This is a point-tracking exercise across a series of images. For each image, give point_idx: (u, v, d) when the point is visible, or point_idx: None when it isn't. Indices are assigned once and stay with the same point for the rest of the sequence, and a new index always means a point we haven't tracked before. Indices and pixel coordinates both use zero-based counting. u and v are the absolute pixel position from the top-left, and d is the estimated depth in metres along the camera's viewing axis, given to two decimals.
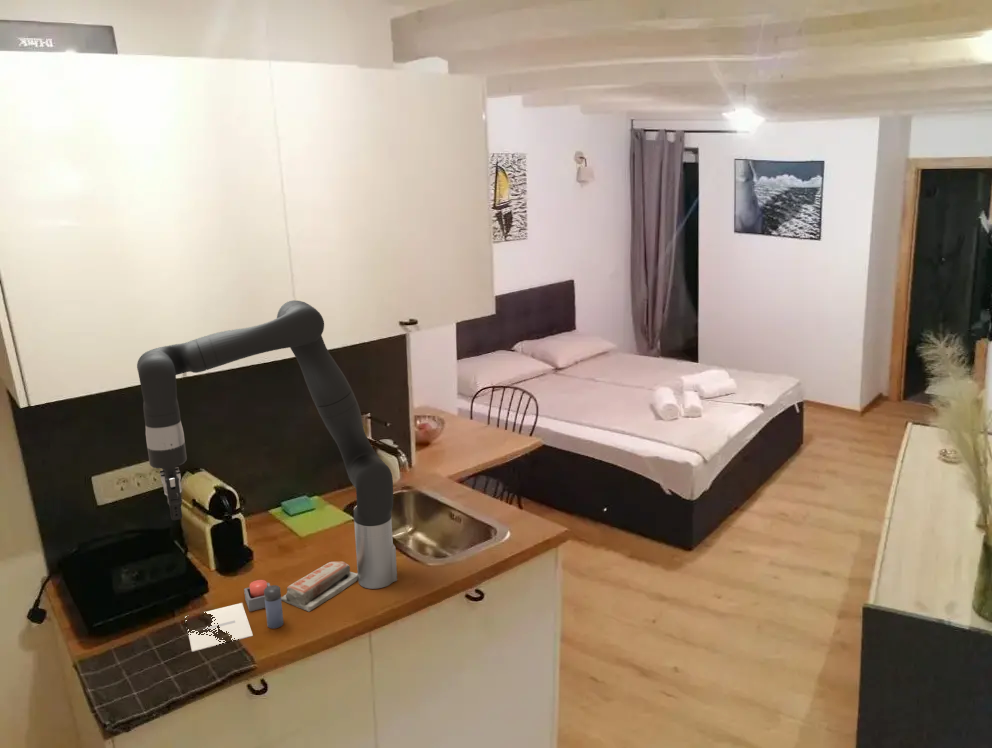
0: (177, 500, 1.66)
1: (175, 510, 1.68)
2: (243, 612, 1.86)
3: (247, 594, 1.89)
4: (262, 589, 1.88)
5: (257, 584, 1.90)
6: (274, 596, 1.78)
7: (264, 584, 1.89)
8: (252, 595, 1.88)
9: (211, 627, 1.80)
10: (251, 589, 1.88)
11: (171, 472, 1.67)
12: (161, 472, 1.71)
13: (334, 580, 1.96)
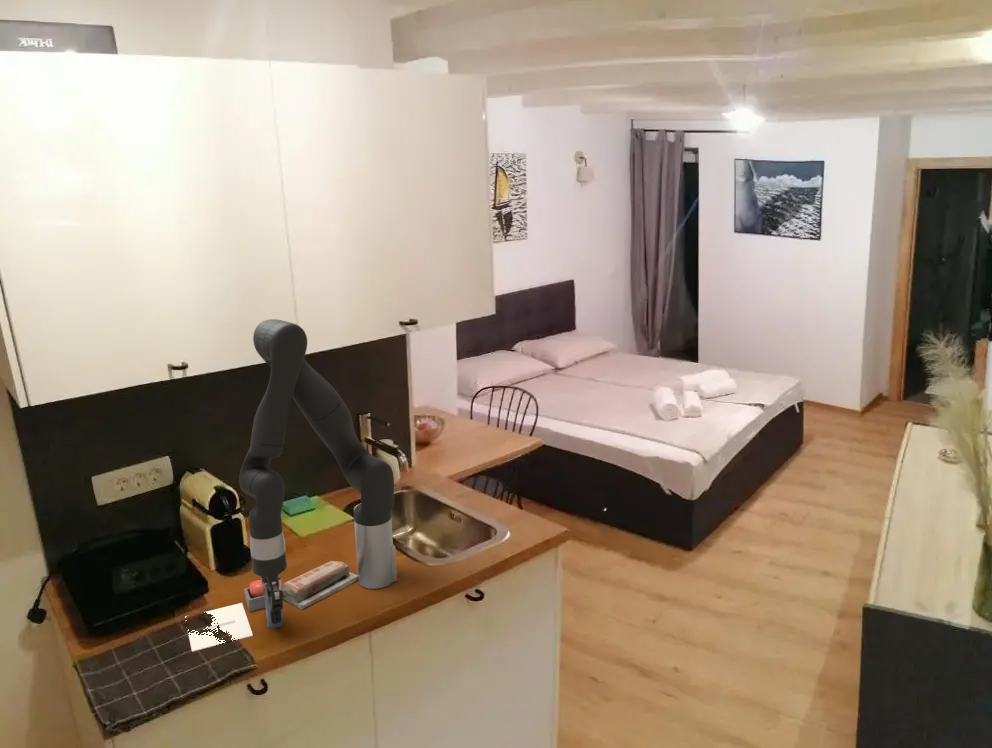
0: (279, 606, 1.76)
1: (276, 615, 1.78)
2: (243, 612, 1.86)
3: (247, 594, 1.89)
4: (262, 589, 1.88)
5: (257, 584, 1.90)
6: None
7: None
8: (252, 595, 1.88)
9: (211, 627, 1.80)
10: (251, 589, 1.88)
11: (274, 580, 1.75)
12: (262, 577, 1.79)
13: (332, 580, 1.96)
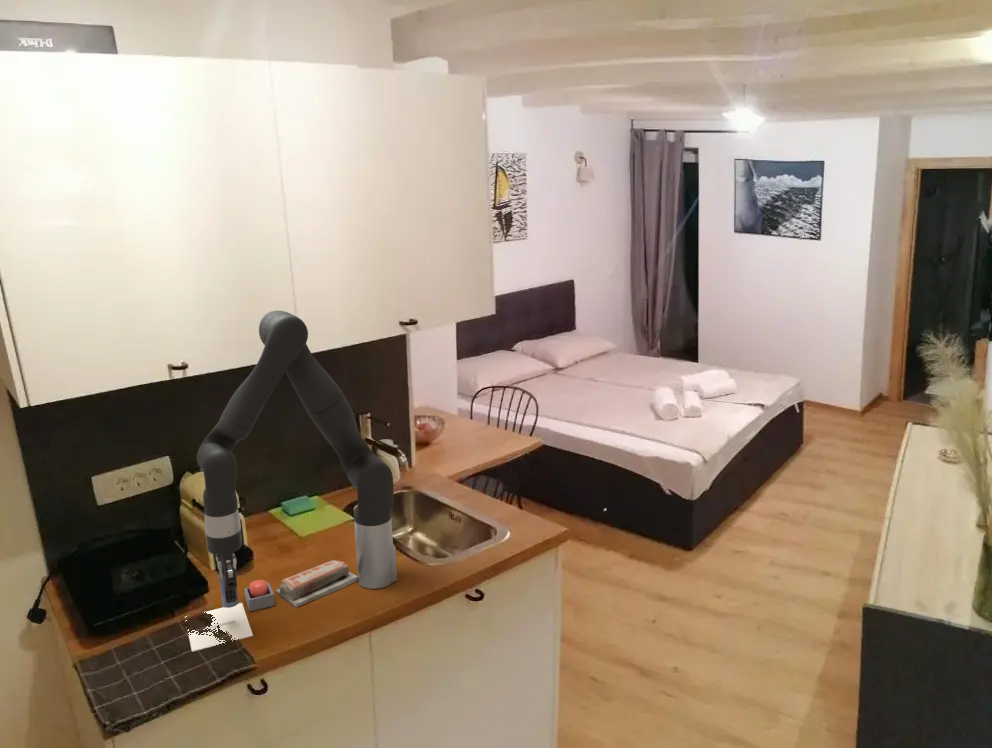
0: (233, 585, 1.75)
1: (230, 594, 1.77)
2: (243, 612, 1.86)
3: (247, 594, 1.89)
4: (262, 589, 1.88)
5: (257, 584, 1.90)
6: None
7: (264, 584, 1.89)
8: (252, 595, 1.88)
9: (211, 627, 1.80)
10: (251, 589, 1.88)
11: (228, 558, 1.75)
12: (217, 555, 1.78)
13: (330, 580, 1.97)
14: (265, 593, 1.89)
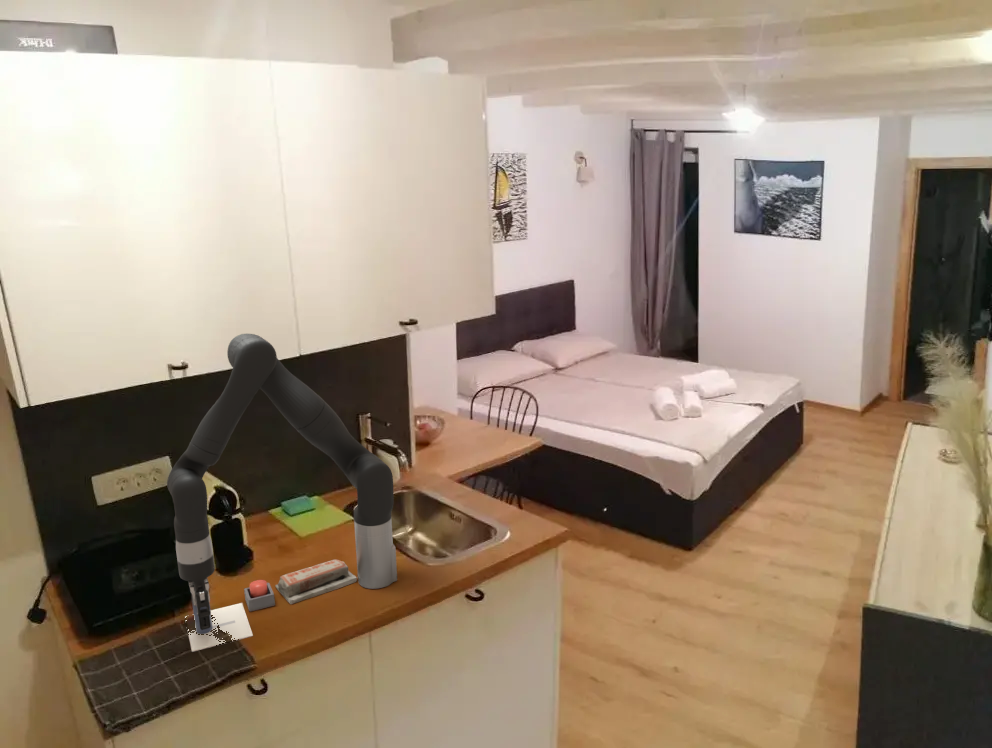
0: (206, 612, 1.72)
1: (204, 620, 1.74)
2: (243, 612, 1.86)
3: (247, 594, 1.89)
4: (262, 589, 1.88)
5: (257, 584, 1.90)
6: None
7: (264, 584, 1.89)
8: (252, 595, 1.88)
9: None
10: (251, 589, 1.88)
11: (200, 584, 1.73)
12: (190, 582, 1.77)
13: (328, 579, 1.97)
14: (265, 593, 1.89)
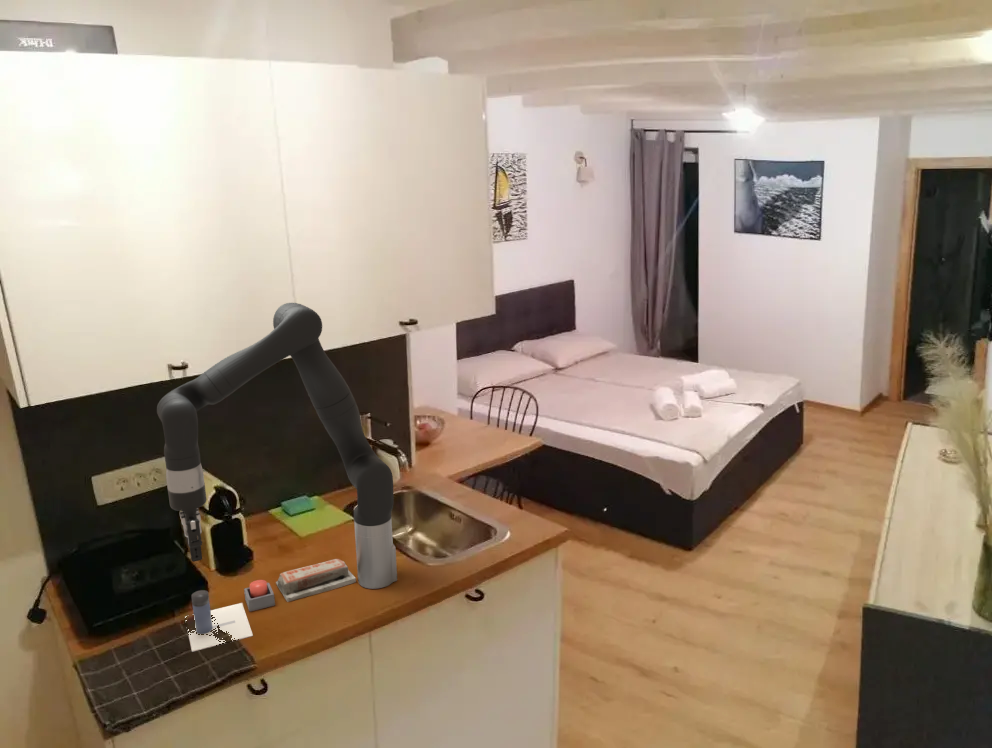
0: (197, 542, 1.67)
1: (195, 552, 1.69)
2: (243, 612, 1.86)
3: (247, 594, 1.89)
4: (262, 589, 1.88)
5: (257, 584, 1.90)
6: (201, 601, 1.76)
7: (264, 584, 1.89)
8: (252, 595, 1.88)
9: None
10: (251, 589, 1.88)
11: (191, 514, 1.69)
12: (181, 513, 1.72)
13: (327, 578, 1.97)
14: (265, 593, 1.89)
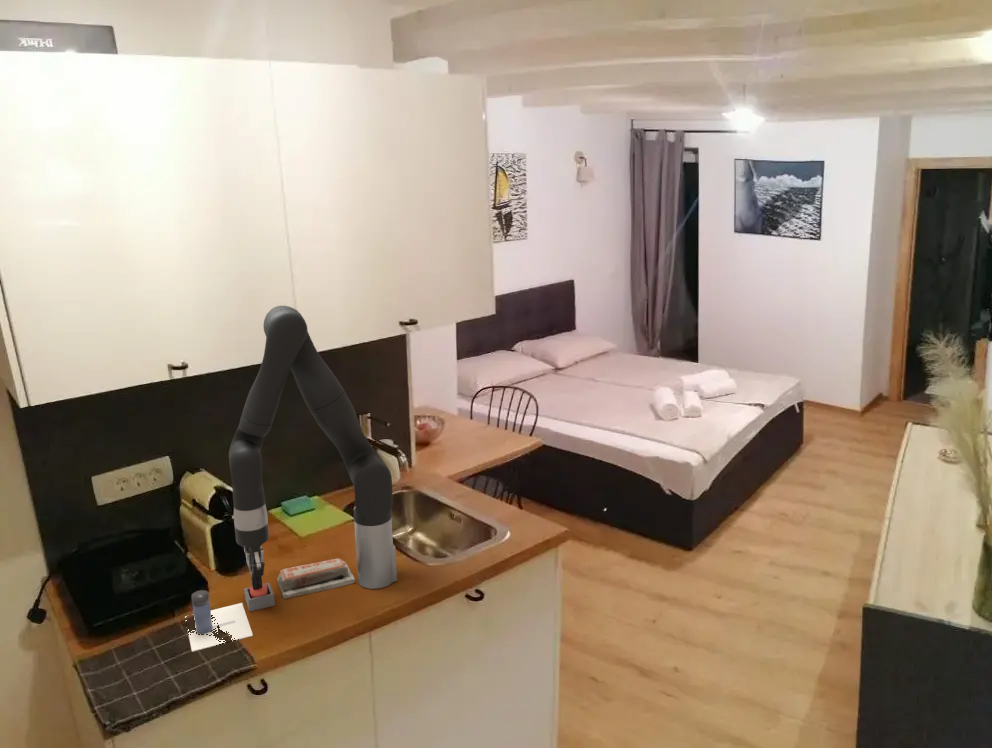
0: (259, 573, 1.86)
1: (257, 581, 1.88)
2: (243, 612, 1.86)
3: (247, 594, 1.89)
4: (262, 592, 1.89)
5: None
6: (201, 601, 1.76)
7: (264, 587, 1.90)
8: None
9: None
10: (251, 592, 1.88)
11: (256, 550, 1.83)
12: (245, 547, 1.87)
13: (326, 577, 1.98)
14: None
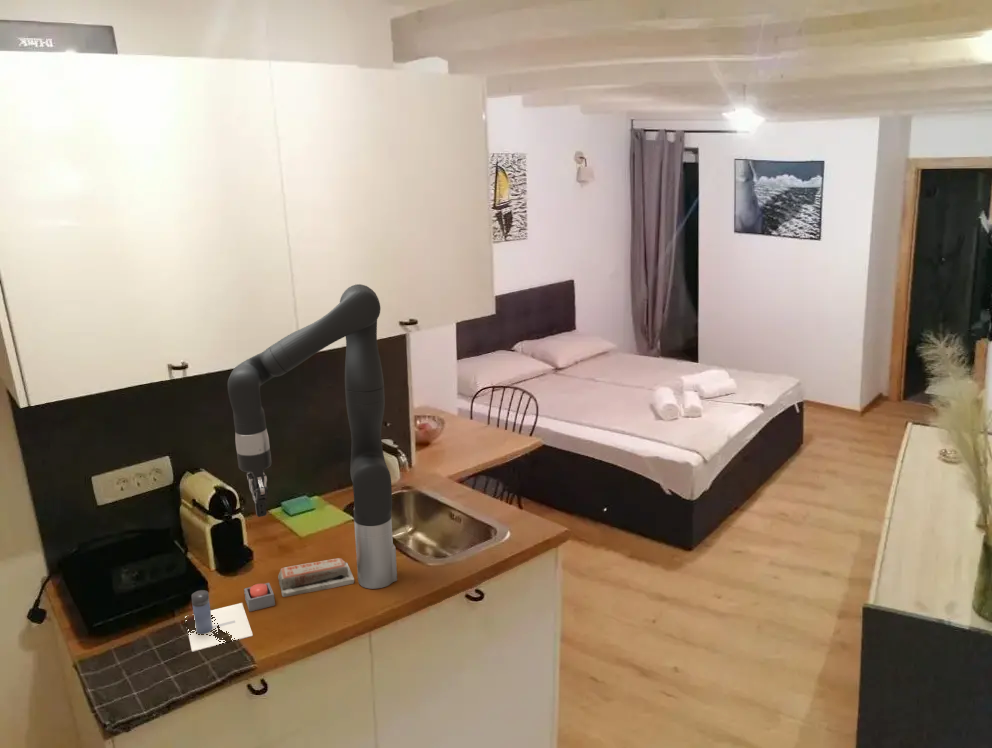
0: (263, 499, 1.86)
1: (261, 508, 1.88)
2: (243, 612, 1.86)
3: (247, 594, 1.89)
4: (262, 593, 1.89)
5: (258, 587, 1.90)
6: (201, 601, 1.76)
7: (264, 588, 1.90)
8: None
9: None
10: (251, 593, 1.88)
11: (259, 475, 1.83)
12: (248, 474, 1.87)
13: (325, 577, 1.98)
14: None
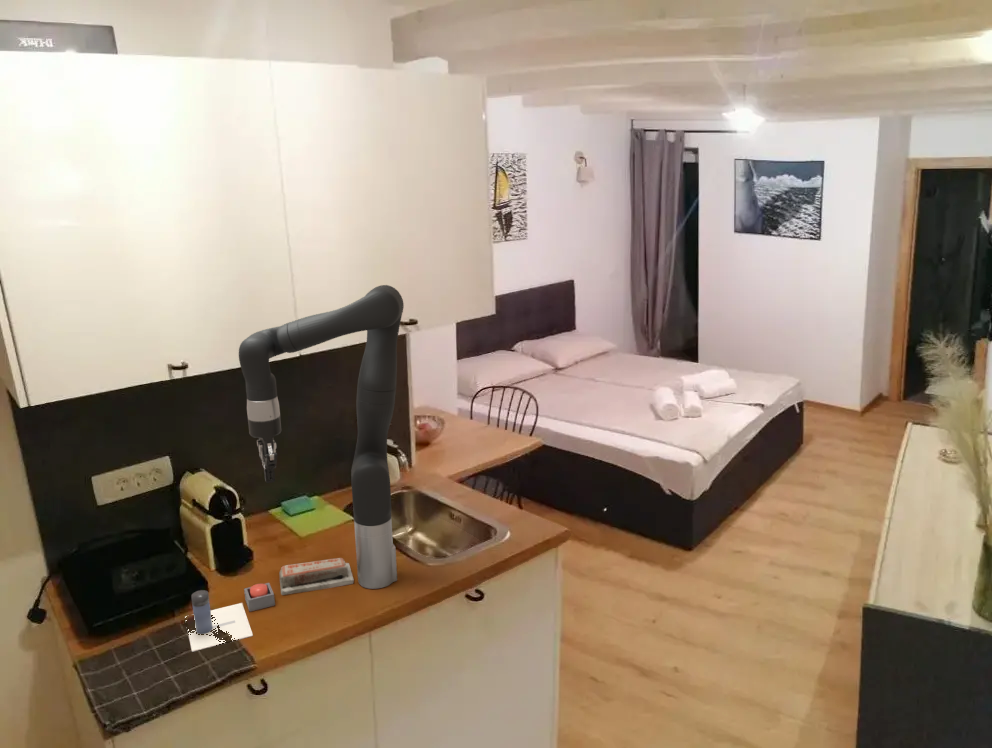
0: (272, 465, 1.90)
1: (270, 474, 1.92)
2: (243, 612, 1.86)
3: (247, 594, 1.89)
4: (262, 593, 1.89)
5: (258, 587, 1.90)
6: (201, 601, 1.76)
7: (264, 588, 1.90)
8: None
9: None
10: (251, 593, 1.88)
11: (269, 441, 1.88)
12: (258, 440, 1.92)
13: (325, 576, 1.98)
14: None
